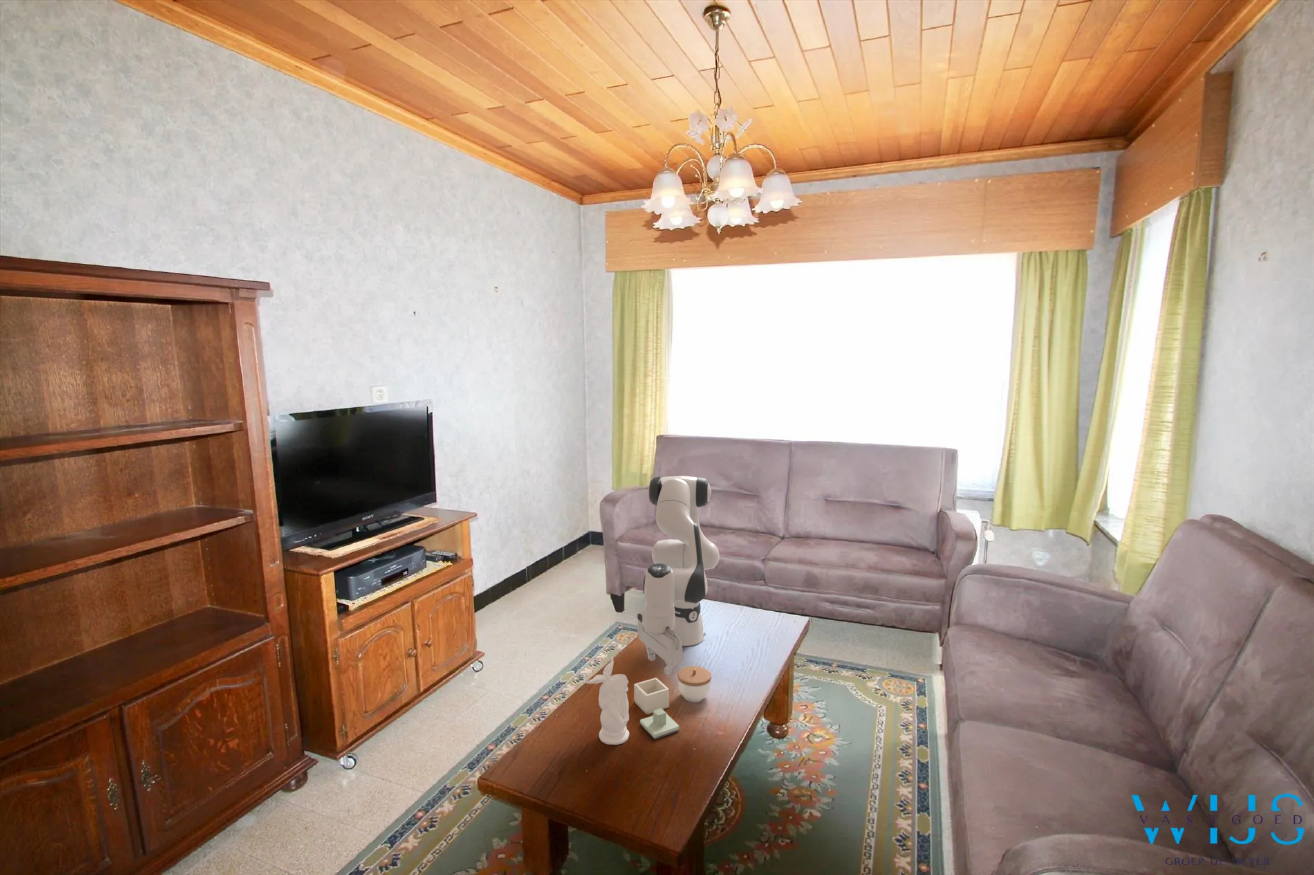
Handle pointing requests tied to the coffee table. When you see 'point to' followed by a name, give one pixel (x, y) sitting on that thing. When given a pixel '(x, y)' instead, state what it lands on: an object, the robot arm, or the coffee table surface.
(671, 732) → the mat
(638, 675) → the coffee table surface
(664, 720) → the lid
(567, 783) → the coffee table surface
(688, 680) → the lidded jar
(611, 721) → the white tall figurine
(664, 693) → the cream box
